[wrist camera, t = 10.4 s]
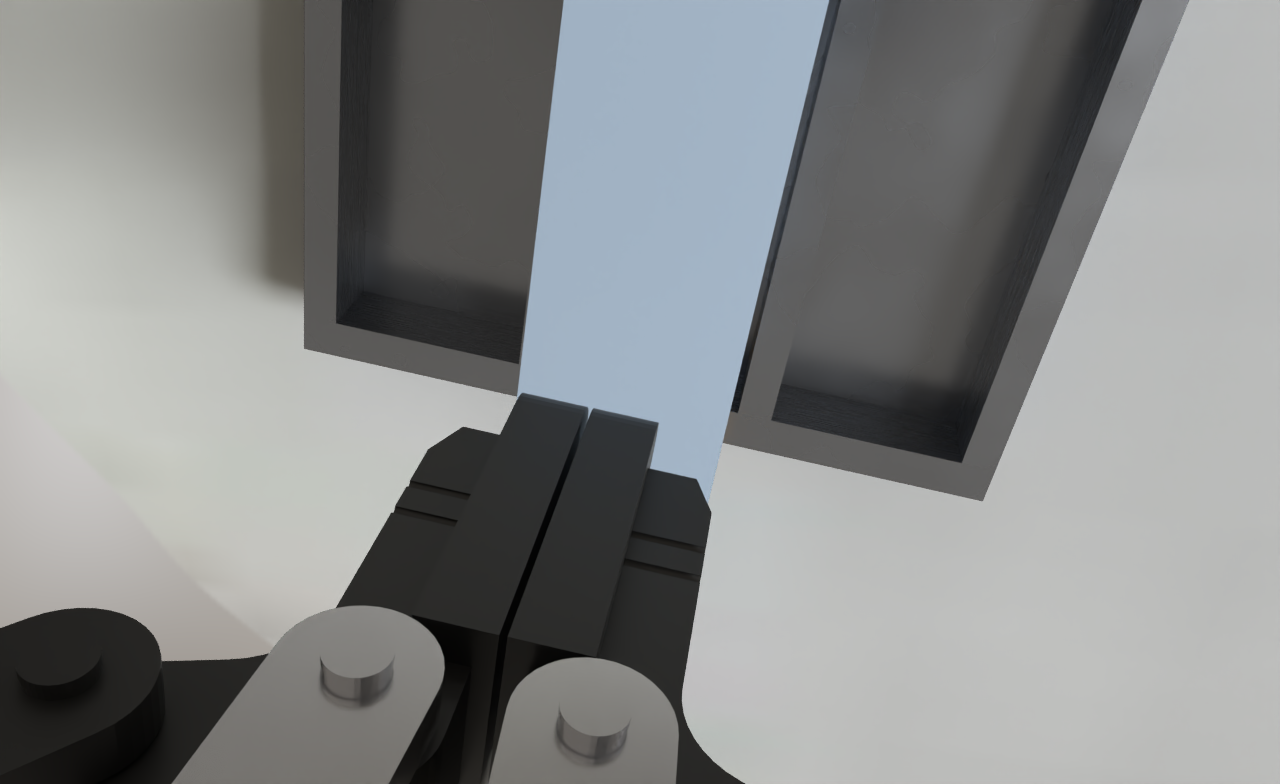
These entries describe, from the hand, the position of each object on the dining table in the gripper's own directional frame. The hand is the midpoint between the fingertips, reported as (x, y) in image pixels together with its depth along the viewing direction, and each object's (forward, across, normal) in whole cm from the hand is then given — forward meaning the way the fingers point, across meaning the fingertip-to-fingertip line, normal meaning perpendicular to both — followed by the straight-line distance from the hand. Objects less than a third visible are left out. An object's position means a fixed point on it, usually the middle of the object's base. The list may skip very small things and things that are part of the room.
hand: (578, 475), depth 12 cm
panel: (+12, 0, 0) cm, 12 cm away
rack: (+12, 0, 0) cm, 12 cm away
